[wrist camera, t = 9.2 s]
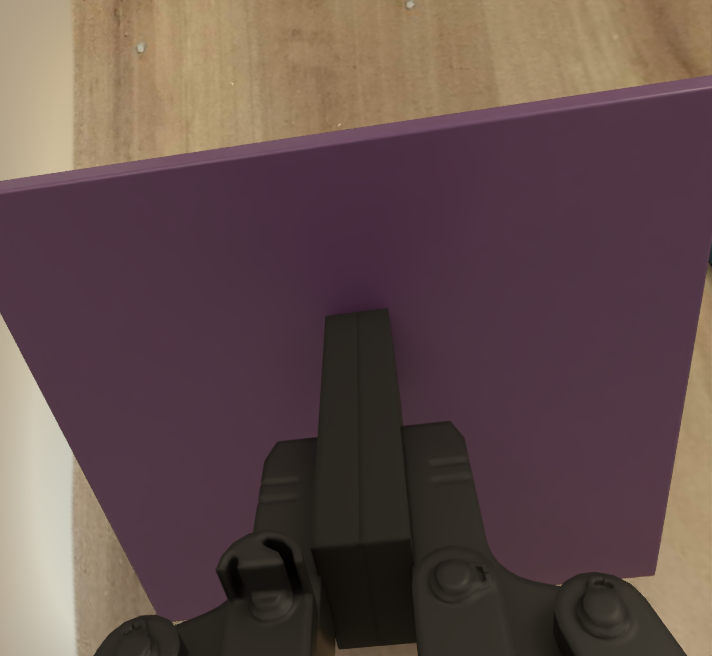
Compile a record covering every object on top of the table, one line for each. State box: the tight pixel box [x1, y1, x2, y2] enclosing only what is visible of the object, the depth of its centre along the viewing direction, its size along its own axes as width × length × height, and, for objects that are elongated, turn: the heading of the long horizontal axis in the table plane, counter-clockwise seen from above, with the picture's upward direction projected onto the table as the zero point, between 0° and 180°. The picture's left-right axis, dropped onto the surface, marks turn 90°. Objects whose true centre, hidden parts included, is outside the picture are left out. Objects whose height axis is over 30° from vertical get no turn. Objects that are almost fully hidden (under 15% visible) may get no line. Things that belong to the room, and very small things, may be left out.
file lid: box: [0, 75, 712, 622], centre depth 17 cm, size 15×17×1 cm
